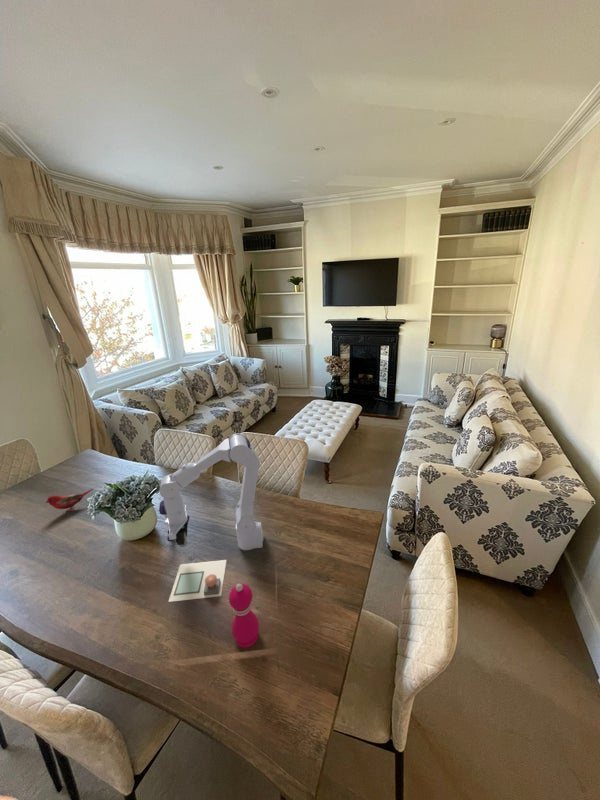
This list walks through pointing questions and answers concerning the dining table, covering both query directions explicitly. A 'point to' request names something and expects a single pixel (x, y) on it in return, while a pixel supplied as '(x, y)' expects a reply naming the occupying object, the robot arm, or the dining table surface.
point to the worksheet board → (197, 580)
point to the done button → (211, 580)
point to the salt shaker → (185, 540)
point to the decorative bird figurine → (65, 501)
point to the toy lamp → (163, 510)
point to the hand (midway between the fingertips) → (182, 540)
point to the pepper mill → (243, 616)
